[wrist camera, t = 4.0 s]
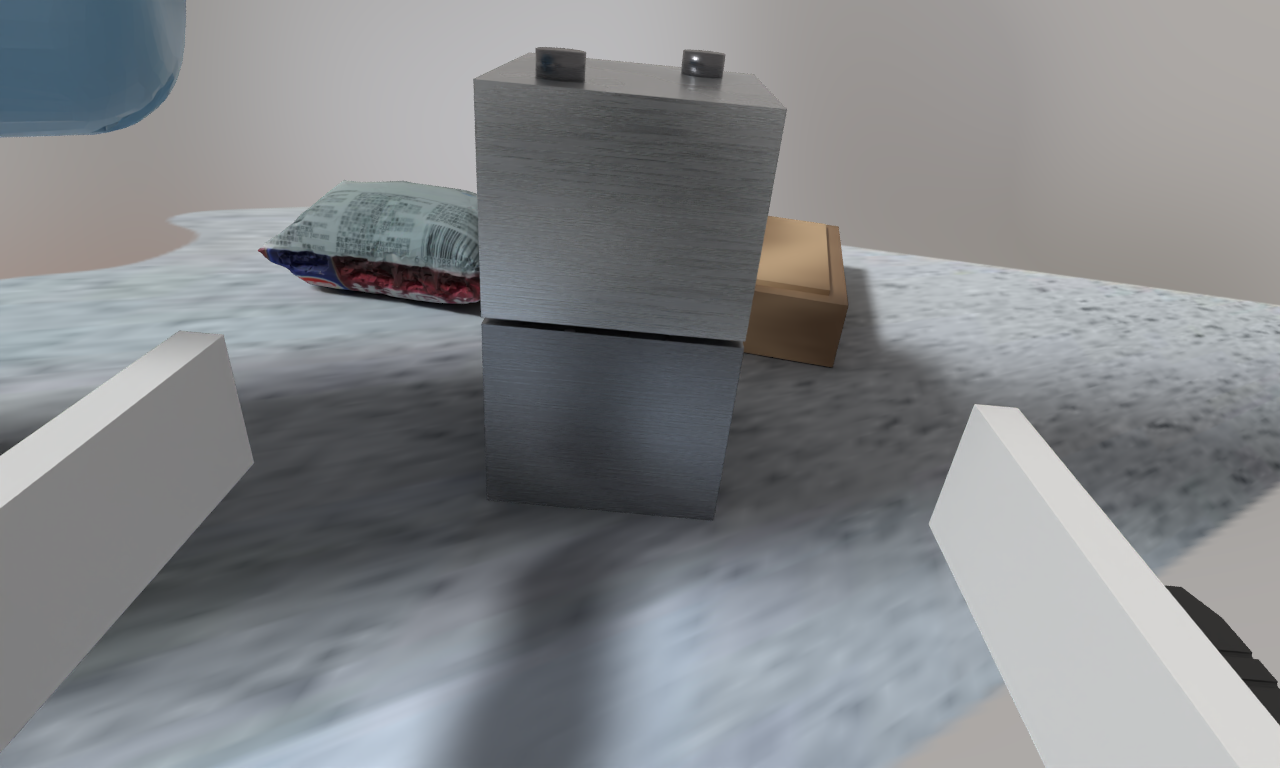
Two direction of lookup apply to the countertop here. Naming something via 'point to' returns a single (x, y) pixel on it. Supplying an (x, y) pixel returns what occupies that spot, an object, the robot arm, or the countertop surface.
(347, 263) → the packaged food
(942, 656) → the countertop surface
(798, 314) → the stand
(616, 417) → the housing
